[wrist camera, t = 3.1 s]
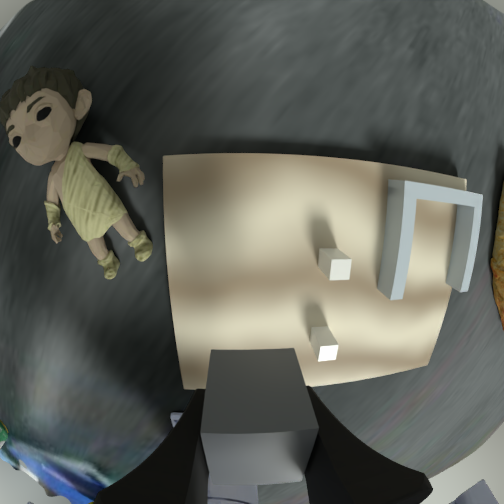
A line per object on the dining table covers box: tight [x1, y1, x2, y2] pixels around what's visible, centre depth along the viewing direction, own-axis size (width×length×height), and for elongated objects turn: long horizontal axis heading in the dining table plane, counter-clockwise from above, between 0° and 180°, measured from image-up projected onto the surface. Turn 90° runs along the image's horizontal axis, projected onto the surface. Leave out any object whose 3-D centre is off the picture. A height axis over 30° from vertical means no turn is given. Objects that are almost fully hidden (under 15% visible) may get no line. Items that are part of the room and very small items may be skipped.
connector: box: [200, 348, 319, 485], centre depth 10 cm, size 8×4×4 cm, turn 179°
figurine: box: [0, 66, 153, 279], centre depth 13 cm, size 8×6×15 cm
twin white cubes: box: [310, 248, 352, 361], centre depth 16 cm, size 7×1×2 cm, turn 179°
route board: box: [163, 153, 466, 390], centre depth 18 cm, size 17×22×1 cm
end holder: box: [377, 179, 483, 300], centre depth 16 cm, size 8×8×2 cm
